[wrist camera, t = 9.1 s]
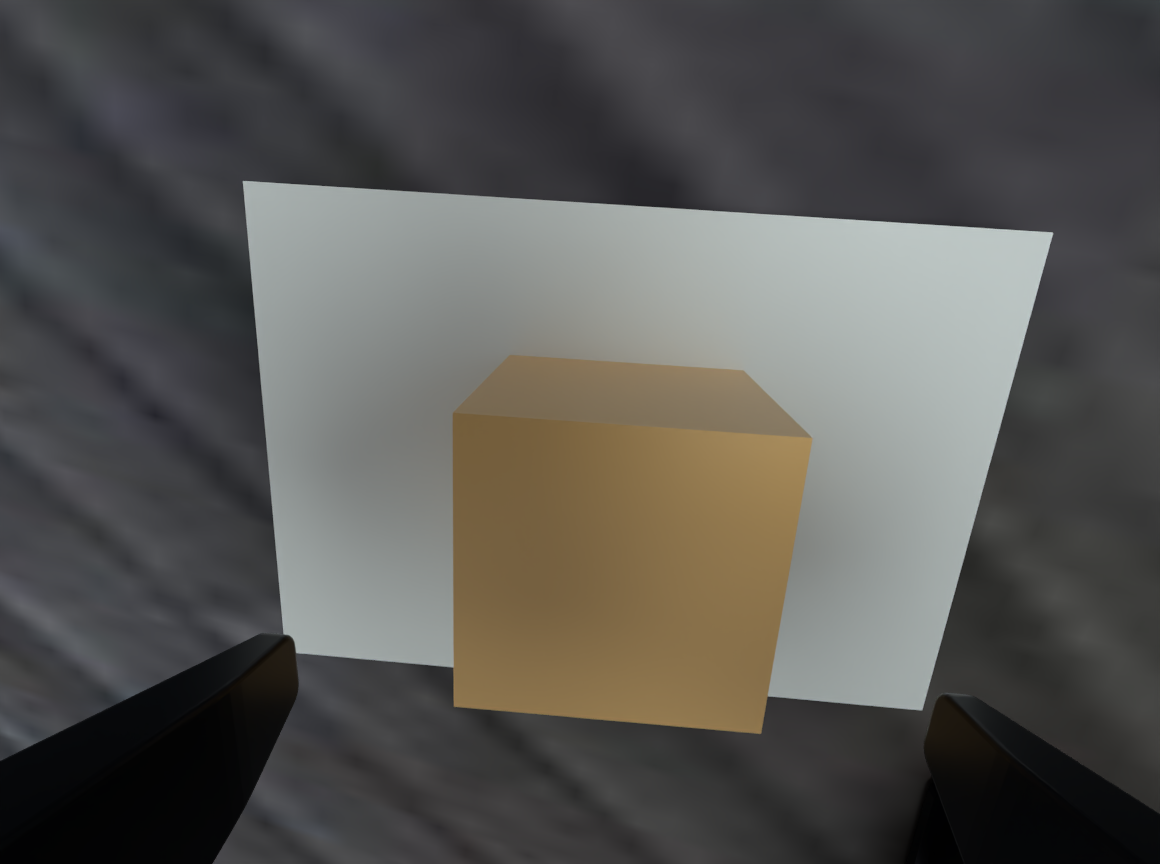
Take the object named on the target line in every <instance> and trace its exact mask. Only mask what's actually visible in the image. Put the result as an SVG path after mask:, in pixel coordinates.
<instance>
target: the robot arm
mask: <svg viewBox="0 0 1160 864" xmlns="http://www.w3.org/2000/svg"><path fill="white" fill-rule="evenodd" d="M298 685H299V683H298V670H297V658H296V647H295V642H294V639H293V638H292V637H291V636H290V635H285V634H274V633H262V634H259V635H257V636H255V637H253V638H251V639H249V640H247V641H245V642H243V643H241V644H238V645H236V646H234V647H232V648H230V649H228V650H226V651H224V652H222V653H220V654H218V655H216V656H214V657H212V658H210V659H208V660H206V661H204V662H202V663H200V664H198V665H196V666H193V667H191V668H189V669H187V670H185V671H183V672H181V673H179V674H177V675H175V676H173V677H171V678H169V679H167V680H165V681H163V682H161V683H159V684H157V685H155V686H153V687H151V688H149V689H146V690H144V691H142V692H140V693H138V694H136V695H134V696H132V697H130V698H128V699H126V700H124V701H122V702H120V703H118V704H116V705H114V706H112V707H110V708H108V709H106V710H104V711H101V712H99V713H97V714H95V715H93V716H91V717H89V718H87V719H85V720H83V721H81V722H79V723H77V724H75V725H73V726H71V727H69V728H67V729H65V730H63V731H61V732H59V733H56V734H54V735H52V736H50V737H48V738H46V739H44V740H42V741H40V742H38V743H36V744H34V745H32V746H30V747H28V748H26V749H24V750H22V751H20V752H18V753H16V754H14V755H12V756H9V757H7V758H5V759H3V760H1V761H0V864H212V863H213V862H214V860H215V858H216V857H217V855H218V853H219V852H220V850H221V848H222V846H223V845H224V843H225V841H226V840H227V838H228V836H229V835H230V833H231V831H232V829H233V828H234V826H235V824H236V822H237V821H238V819H239V817H240V815H241V814H242V812H243V810H244V808H245V806H246V804H247V802H248V800H249V798H250V796H251V794H252V792H253V790H254V788H255V786H256V784H257V782H258V780H259V777H260V775H261V773H262V771H263V769H264V767H265V765H266V762H267V760H268V758H269V756H270V754H271V752H272V750H273V747H274V745H275V743H276V741H277V739H278V737H279V735H280V732H281V730H282V728H283V726H284V724H285V722H286V719H287V717H288V715H289V713H290V711H291V709H292V707H293V704H294V702H295V700H296V697H297V693H298ZM924 754H925V758H926V762H927V765H928V767H929V770H930V773H931V776H932V778H933V781H934V782H933V783H932V784H931V785H930V786H929V788H928V791H927V794H926V798H925V801H924V805H923V808H922V812H921V815H920V819H919V822H918V825H917V829H916V832H915V836H914V839H913V843H912V846H911V849H910V853H909V856H908V860H907V863H906V864H1160V814H1159V813H1157V812H1156V811H1154V810H1153V809H1151V808H1150V807H1148V806H1146V805H1145V804H1143V803H1142V802H1140V801H1139V800H1137V799H1135V798H1134V797H1132V796H1131V795H1129V794H1128V793H1126V792H1124V791H1123V790H1121V789H1120V788H1118V787H1116V786H1115V785H1113V784H1112V783H1110V782H1109V781H1107V780H1105V779H1104V778H1102V777H1101V776H1099V775H1098V774H1096V773H1094V772H1093V771H1091V770H1090V769H1088V768H1087V767H1085V766H1083V765H1082V764H1080V763H1079V762H1077V761H1075V760H1074V759H1072V758H1071V757H1069V756H1068V755H1066V754H1064V753H1063V752H1061V751H1060V750H1058V749H1057V748H1055V747H1053V746H1052V745H1050V744H1049V743H1047V742H1046V741H1044V740H1042V739H1041V738H1039V737H1038V736H1036V735H1035V734H1033V733H1031V732H1030V731H1028V730H1027V729H1025V728H1023V727H1022V726H1020V725H1019V724H1017V723H1016V722H1014V721H1012V720H1011V719H1009V718H1008V717H1006V716H1005V715H1003V714H1001V713H1000V712H998V711H997V710H995V709H994V708H992V707H990V706H989V705H987V704H986V703H984V702H982V701H981V700H979V699H978V698H976V697H974V696H971V695H964V694H953V693H943V694H940V695H939V696H938V697H937V698H936V701H935V703H934V707H933V710H932V714H931V717H930V721H929V725H928V728H927V732H926V735H925V739H924Z"/></svg>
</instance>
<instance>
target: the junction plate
mask: <svg viewBox="0 0 1160 864" xmlns="http://www.w3.org/2000/svg"><path fill="white" fill-rule="evenodd" d="M243 188H244V199H245V210H246V221H247V232H248V244H249V255H250V266H251V277H252V288H253V299H254V310H255V321H256V333H257V344H258V355H259V366H260V377H261V388H262V399H263V410H264V421H265V433H266V444H267V455H268V466H269V477H270V488H271V499H272V510H273V522H274V533H275V544H276V555H277V566H278V577H279V588H280V599H281V610H282V622H283V633H284V634H285V635H290V636H291V637H292V638H293V639H294V642H295V647H296V653H303V654H314V655H325V656H336V657H347V658H357V659H368V660H379V661H390V662H401V663H412V664H423V665H433V666H444V667H454V648H453V412H454V411H455V410H456V409H457V408H458V407H459V406H460V405H461V404H462V403H463V402H464V401H465V400H466V399H467V398H468V397H469V396H470V395H471V394H472V393H473V392H474V391H475V390H476V389H477V388H478V387H479V386H480V385H481V384H482V382H483V381H484V380H485V379H486V378H487V377H488V376H489V375H490V374H491V373H492V372H493V371H494V370H495V369H496V368H497V367H498V366H499V365H500V364H501V363H502V362H503V361H504V360H505V359H506V358H507V357H508V356H509V355H520V356H535V357H550V358H565V359H580V360H595V361H610V362H625V363H640V364H656V365H671V366H686V367H701V368H716V369H731V370H744V371H745V372H746V373H747V374H748V375H749V376H750V377H751V378H752V379H753V380H754V381H755V382H756V383H757V384H758V385H759V386H760V387H761V388H762V389H763V390H764V391H765V392H766V393H767V394H768V395H769V396H770V397H771V398H772V399H773V400H774V401H775V402H776V403H777V404H778V405H779V406H780V407H781V408H782V409H783V410H784V411H785V412H787V413H788V414H789V415H790V416H791V417H792V418H793V419H794V420H795V421H796V422H797V423H798V424H799V425H800V426H801V427H802V428H803V429H804V430H805V431H806V432H807V433H808V434H809V435H810V436H811V437H812V438H813V439H812V445H811V451H810V456H809V462H808V468H807V474H806V479H805V485H804V491H803V496H802V502H801V508H800V514H799V519H798V525H797V531H796V536H795V542H794V548H793V554H792V559H791V565H790V571H789V576H788V582H787V588H786V594H785V599H784V605H783V611H782V616H781V622H780V628H779V634H778V639H777V645H776V651H775V656H774V662H773V668H772V674H771V679H770V685H769V691H768V696H771V697H781V698H792V699H803V700H814V701H825V702H836V703H847V704H857V705H868V706H879V707H890V708H901V709H912V710H922V709H923V706H924V702H925V699H926V695H927V691H928V688H929V684H930V680H931V677H932V673H933V669H934V666H935V662H936V658H937V655H938V651H939V647H940V644H941V640H942V637H943V633H944V629H945V626H946V622H947V618H948V615H949V611H950V607H951V604H952V600H953V596H954V593H955V589H956V585H957V582H958V578H959V575H960V571H961V567H962V564H963V560H964V556H965V553H966V549H967V545H968V542H969V538H970V534H971V531H972V527H973V523H974V520H975V516H976V513H977V509H978V505H979V502H980V498H981V494H982V491H983V487H984V483H985V480H986V476H987V472H988V469H989V465H990V461H991V458H992V454H993V450H994V447H995V443H996V440H997V436H998V432H999V429H1000V425H1001V421H1002V418H1003V414H1004V410H1005V407H1006V403H1007V399H1008V396H1009V392H1010V388H1011V385H1012V381H1013V378H1014V374H1015V370H1016V367H1017V363H1018V359H1019V356H1020V352H1021V348H1022V345H1023V341H1024V337H1025V334H1026V330H1027V326H1028V323H1029V319H1030V316H1031V312H1032V308H1033V305H1034V301H1035V297H1036V294H1037V290H1038V286H1039V283H1040V279H1041V275H1042V272H1043V268H1044V264H1045V261H1046V257H1047V254H1048V250H1049V246H1050V243H1051V239H1052V235H1053V233H1050V232H1035V231H1019V230H1003V229H988V228H972V227H956V226H941V225H925V224H909V223H894V222H878V221H862V220H847V219H831V218H815V217H800V216H784V215H768V214H753V213H737V212H721V211H706V210H690V209H674V208H659V207H643V206H627V205H611V204H596V203H580V202H564V201H549V200H533V199H517V198H502V197H486V196H470V195H455V194H439V193H423V192H408V191H392V190H376V189H361V188H345V187H329V186H314V185H298V184H282V183H267V182H251V181H243Z"/></svg>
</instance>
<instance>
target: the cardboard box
mask: <svg viewBox="0 0 1160 864" xmlns="http://www.w3.org/2000/svg"><path fill="white" fill-rule="evenodd" d="M812 439H813V438H812V437H811V436H810V435H809V434H808V433H807V432H806V431H805V430H804V429H803V428H802V427H801V426H800V425H799V424H798V423H797V422H796V421H795V420H794V419H793V418H792V417H791V416H790V415H789V414H788V413H787V412H785V411H784V410H783V409H782V408H781V407H780V406H779V405H778V404H777V403H776V402H775V401H774V400H773V399H772V398H771V397H770V396H769V395H768V394H767V393H766V392H765V391H764V390H763V389H762V388H761V387H760V386H759V385H758V384H757V383H756V382H755V381H754V380H753V379H752V378H751V377H750V376H749V375H748V374H747V373H746V372H745V371H744V370H731V369H716V368H701V367H686V366H671V365H656V364H640V363H625V362H610V361H595V360H580V359H565V358H550V357H535V356H520V355H509V356H508V357H507V358H506V359H505V360H504V361H503V362H502V363H501V364H500V365H499V366H498V367H497V368H496V369H495V370H494V371H493V372H492V373H491V374H490V375H489V376H488V377H487V378H486V379H485V380H484V381H483V382H482V384H481V385H480V386H479V387H478V388H477V389H476V390H475V391H474V392H473V393H472V394H471V395H470V396H469V397H468V398H467V399H466V400H465V401H464V402H463V403H462V404H461V405H460V406H459V407H458V408H457V409H456V410H455V411H454V412H453V648H454V707H463V708H475V709H486V710H497V711H509V712H520V713H531V714H542V715H554V716H565V717H576V718H588V719H599V720H610V721H621V722H633V723H644V724H655V725H667V726H678V727H689V728H700V729H712V730H723V731H734V732H746V733H757V734H761V731H762V725H763V719H764V714H765V708H766V702H767V696H768V691H769V685H770V679H771V674H772V668H773V662H774V656H775V651H776V645H777V639H778V634H779V628H780V622H781V616H782V611H783V605H784V599H785V594H786V588H787V582H788V576H789V571H790V565H791V559H792V554H793V548H794V542H795V536H796V531H797V525H798V519H799V514H800V508H801V502H802V496H803V491H804V485H805V479H806V474H807V468H808V462H809V456H810V451H811V445H812Z"/></svg>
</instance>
